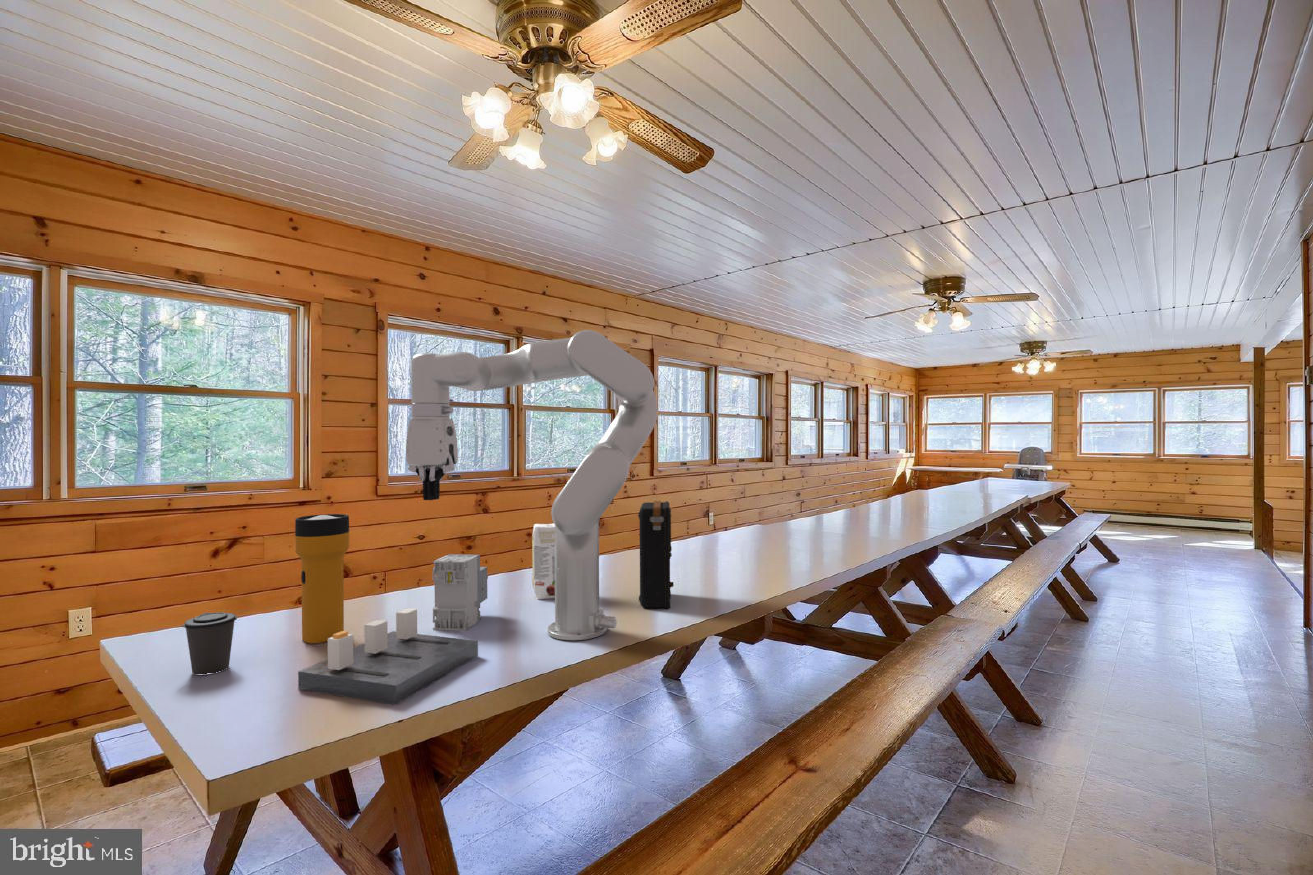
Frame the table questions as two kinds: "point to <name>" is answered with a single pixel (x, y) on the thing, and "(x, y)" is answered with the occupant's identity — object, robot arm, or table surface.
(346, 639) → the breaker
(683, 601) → the table surface
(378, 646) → the block
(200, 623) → the coffee cup
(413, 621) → the block
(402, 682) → the grey slider panel
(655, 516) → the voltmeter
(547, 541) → the juice carton
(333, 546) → the flashlight
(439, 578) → the circuit breaker
